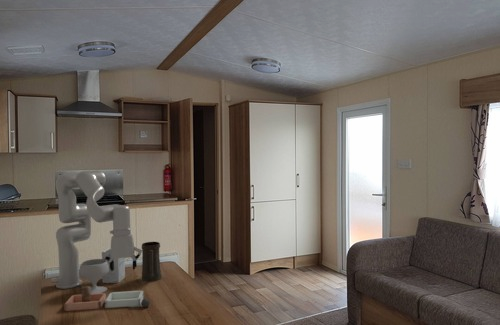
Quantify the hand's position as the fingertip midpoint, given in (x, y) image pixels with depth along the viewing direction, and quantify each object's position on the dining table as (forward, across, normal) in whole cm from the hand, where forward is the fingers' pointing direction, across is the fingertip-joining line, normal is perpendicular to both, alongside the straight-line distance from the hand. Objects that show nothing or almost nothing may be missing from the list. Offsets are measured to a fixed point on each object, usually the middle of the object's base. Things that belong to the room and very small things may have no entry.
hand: (123, 269), depth 178 cm
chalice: (+15, -18, +19) cm, 30 cm away
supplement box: (+15, -12, +36) cm, 41 cm away
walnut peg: (+15, -17, 0) cm, 22 cm away
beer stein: (+16, +9, +32) cm, 36 cm away
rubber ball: (+14, +10, -6) cm, 18 cm away
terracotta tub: (+15, -17, 0) cm, 23 cm away
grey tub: (+16, 0, 0) cm, 16 cm away
